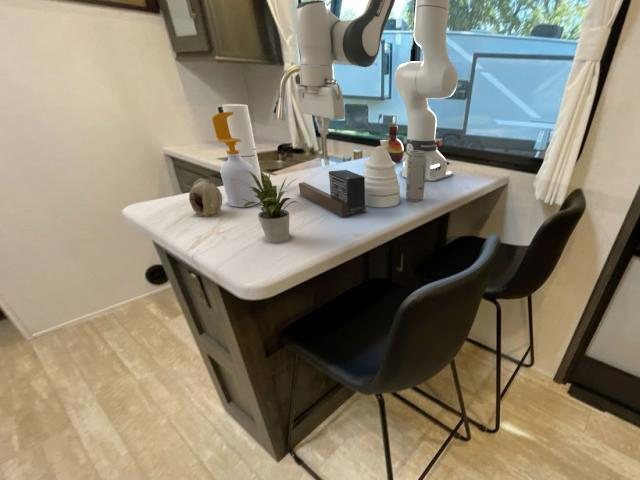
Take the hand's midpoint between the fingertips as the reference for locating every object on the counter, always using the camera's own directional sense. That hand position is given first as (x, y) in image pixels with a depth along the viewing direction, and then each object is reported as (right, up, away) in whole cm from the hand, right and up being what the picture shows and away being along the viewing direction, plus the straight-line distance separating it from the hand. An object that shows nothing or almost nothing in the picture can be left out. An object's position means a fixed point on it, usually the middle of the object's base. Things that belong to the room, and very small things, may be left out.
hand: (323, 133), depth 98 cm
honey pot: (+17, -18, +9) cm, 26 cm away
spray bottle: (-25, -21, +2) cm, 32 cm away
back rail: (-1, -21, +3) cm, 21 cm away
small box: (+7, -23, +1) cm, 24 cm away
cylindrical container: (-29, -11, +16) cm, 35 cm away
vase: (+19, +18, +62) cm, 67 cm away
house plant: (-8, -35, -18) cm, 41 cm away
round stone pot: (-31, -26, -6) cm, 41 cm away
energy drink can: (+28, -16, +12) cm, 35 cm away
